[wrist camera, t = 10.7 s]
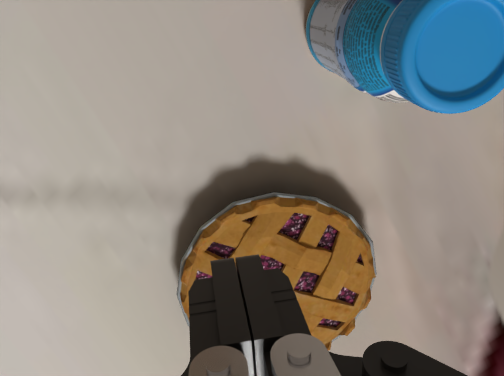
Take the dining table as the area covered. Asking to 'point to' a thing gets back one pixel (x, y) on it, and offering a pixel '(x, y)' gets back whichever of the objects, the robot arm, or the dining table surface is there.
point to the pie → (292, 255)
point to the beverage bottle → (413, 49)
